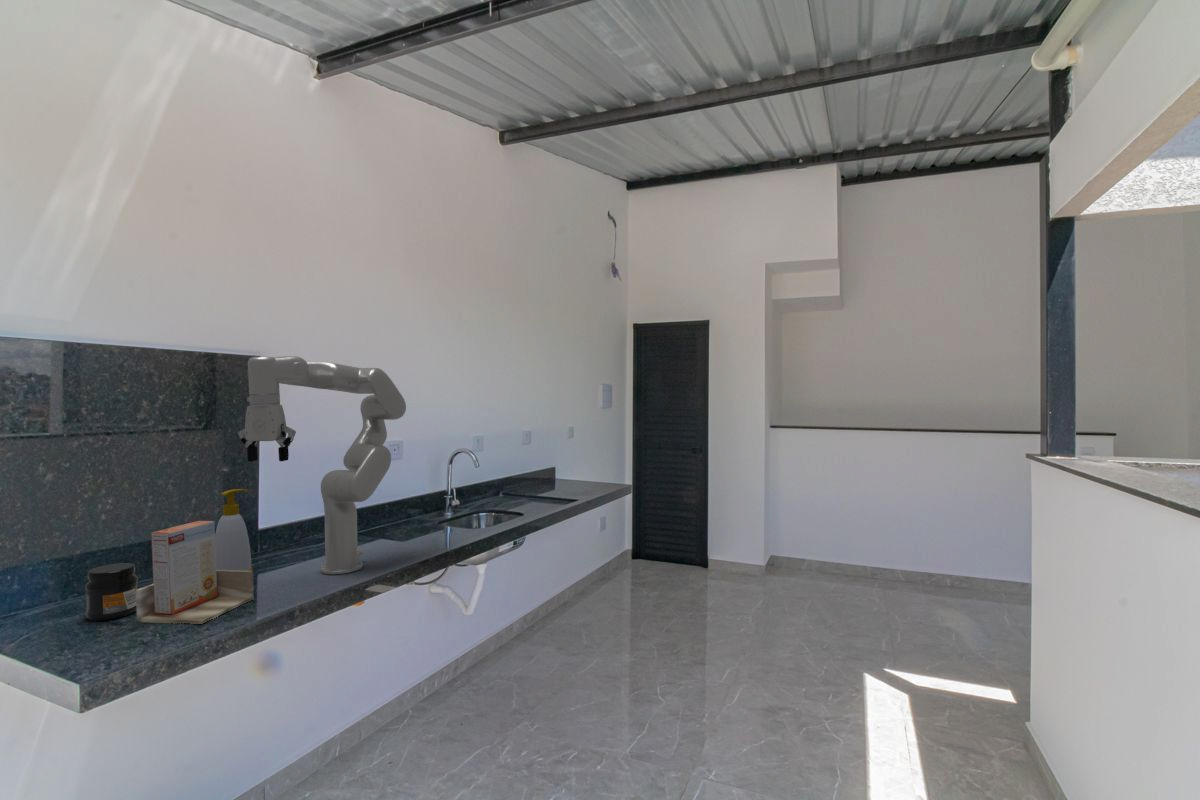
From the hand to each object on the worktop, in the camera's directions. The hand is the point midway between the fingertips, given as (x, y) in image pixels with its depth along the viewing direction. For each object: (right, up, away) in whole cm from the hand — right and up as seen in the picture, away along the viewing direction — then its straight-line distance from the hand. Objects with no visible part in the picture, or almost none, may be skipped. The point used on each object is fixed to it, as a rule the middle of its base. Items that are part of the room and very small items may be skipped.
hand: (268, 460), depth 175 cm
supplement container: (-31, -38, -16) cm, 52 cm away
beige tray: (-11, -38, -14) cm, 42 cm away
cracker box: (-14, -37, -14) cm, 42 cm away
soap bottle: (-21, -37, +18) cm, 47 cm away
